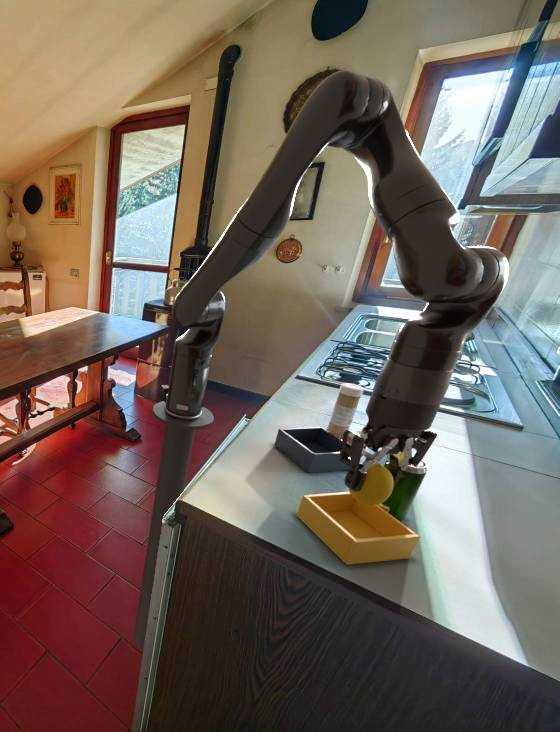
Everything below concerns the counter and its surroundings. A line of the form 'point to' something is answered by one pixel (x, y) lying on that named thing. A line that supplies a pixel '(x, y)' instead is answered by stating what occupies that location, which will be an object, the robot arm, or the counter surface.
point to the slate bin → (311, 448)
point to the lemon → (375, 486)
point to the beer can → (405, 491)
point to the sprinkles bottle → (344, 408)
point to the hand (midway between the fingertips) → (368, 486)
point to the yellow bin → (356, 528)
